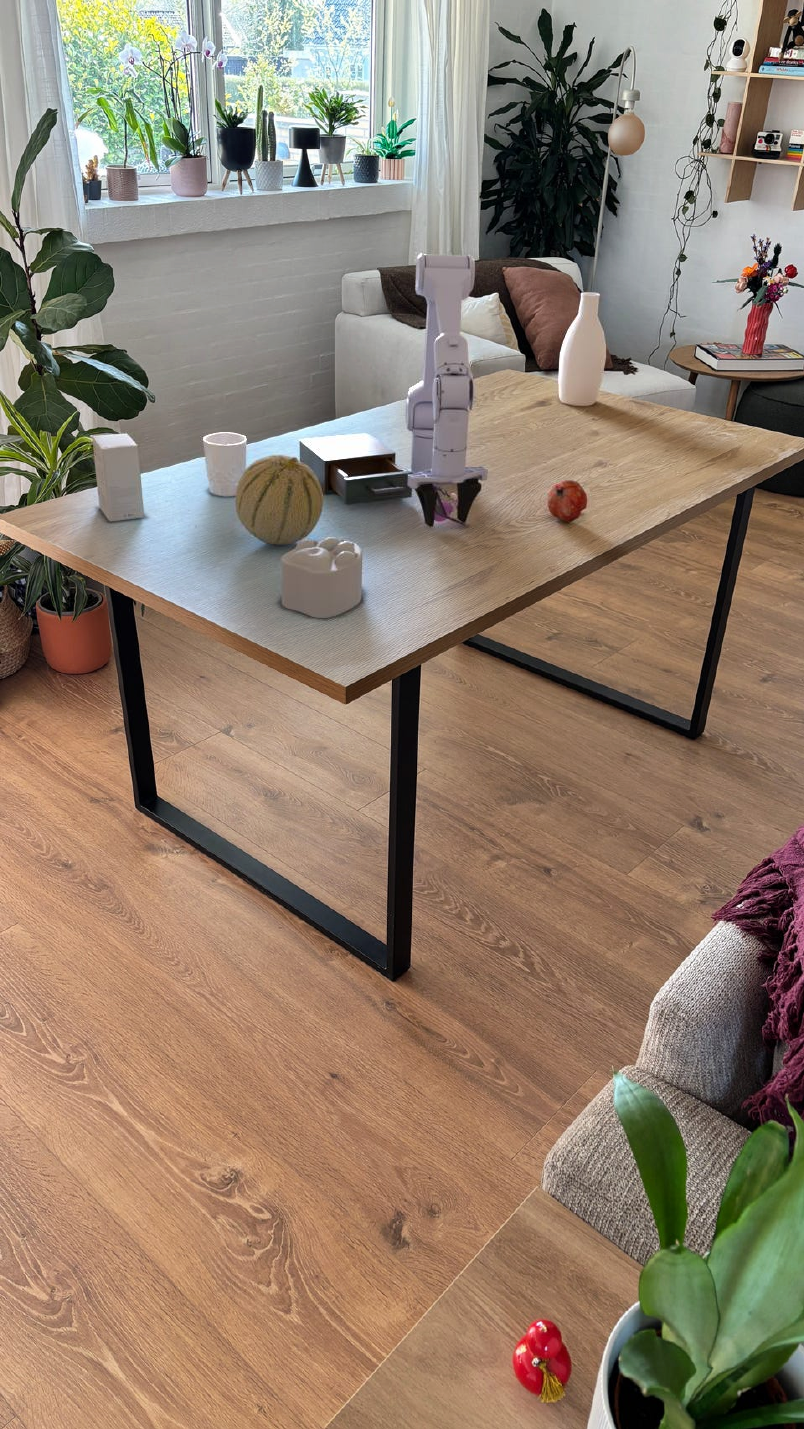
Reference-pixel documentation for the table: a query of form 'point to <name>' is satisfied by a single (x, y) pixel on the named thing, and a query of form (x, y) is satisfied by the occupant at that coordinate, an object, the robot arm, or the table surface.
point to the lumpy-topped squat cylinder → (322, 577)
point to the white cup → (224, 462)
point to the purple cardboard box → (445, 506)
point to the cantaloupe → (279, 499)
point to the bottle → (583, 355)
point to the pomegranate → (567, 500)
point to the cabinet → (340, 453)
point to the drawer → (369, 481)
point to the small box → (118, 476)
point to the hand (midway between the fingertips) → (445, 522)
